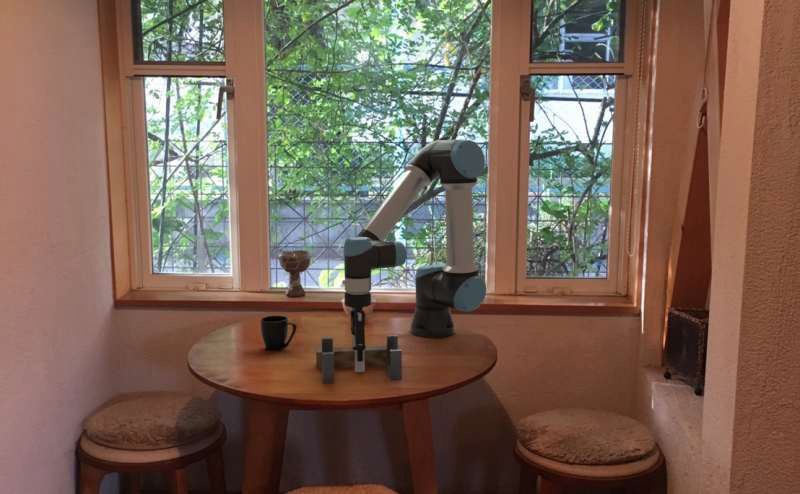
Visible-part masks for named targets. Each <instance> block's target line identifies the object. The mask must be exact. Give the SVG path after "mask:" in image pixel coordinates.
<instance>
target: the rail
mask: <svg viewBox="0 0 800 494" xmlns="http://www.w3.org/2000/svg"><path fill="white" fill-rule="evenodd" d="M365 346H366V348H365V367H377V366H378V367H382V366H383V367H384V366H386V367H387V344H386V345H365ZM399 349H401V347H400V346H399V344H398V350H399ZM333 352H334V369H335V368H355V350H353V347H351V346H343V347H342V346H341V347H340V346H339V347H338V346H336V347H333ZM315 359H316V360H315V365H316V369H317V370H318V369H322V347H317V348H315Z"/></svg>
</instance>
